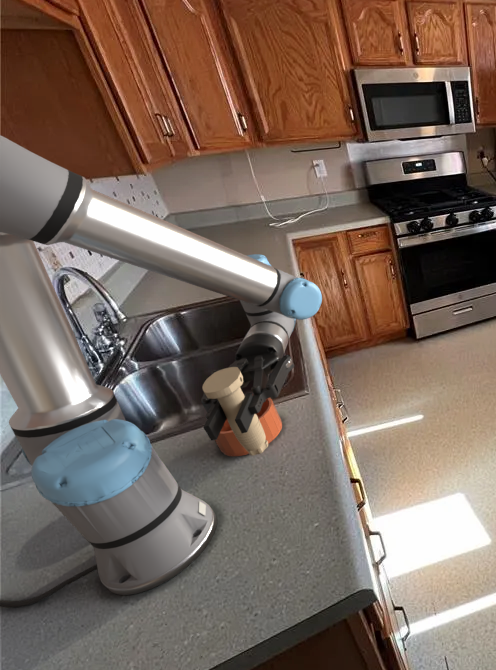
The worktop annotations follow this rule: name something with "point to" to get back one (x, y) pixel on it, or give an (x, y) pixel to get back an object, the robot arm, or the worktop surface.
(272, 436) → the crock
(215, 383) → the handle
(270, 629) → the worktop surface
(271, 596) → the worktop surface
